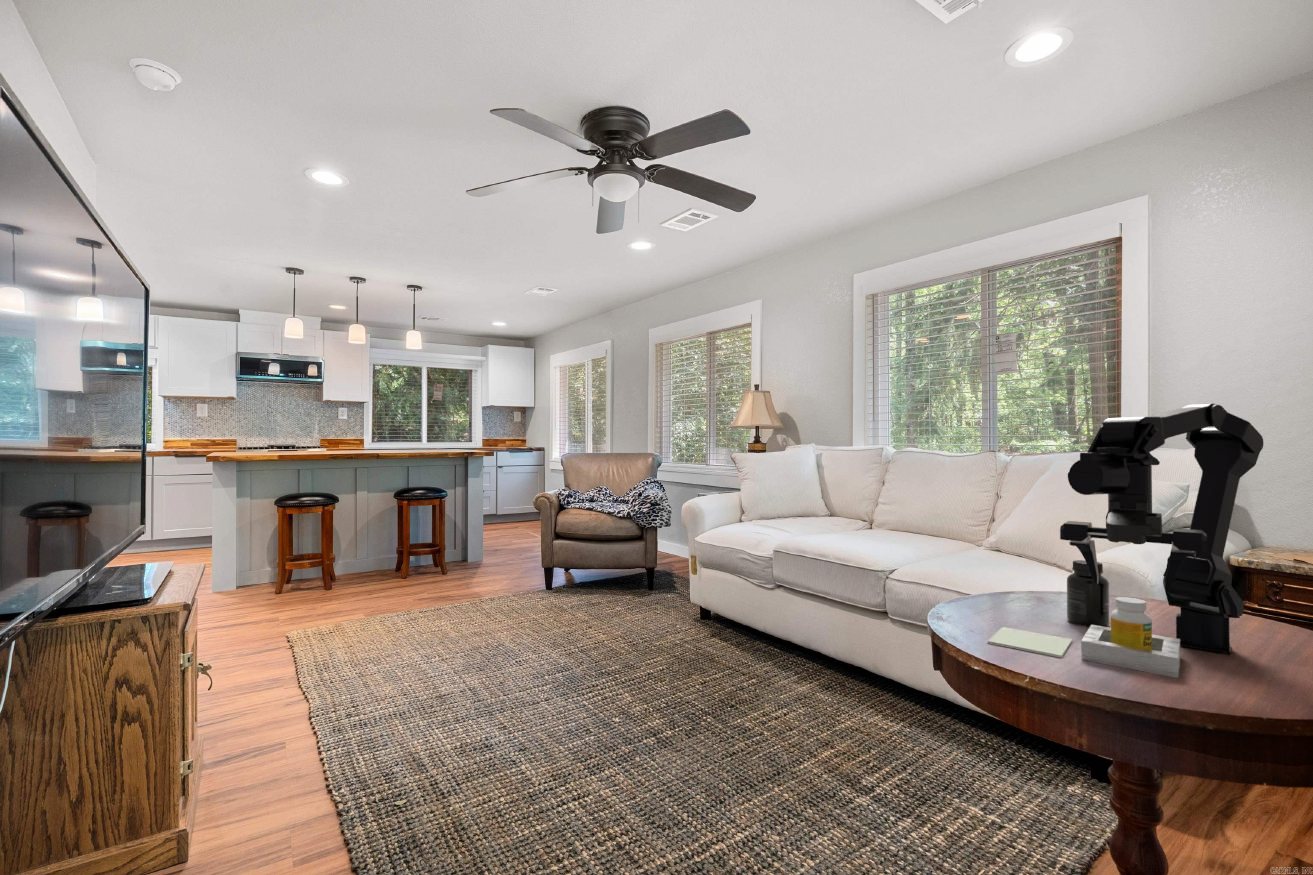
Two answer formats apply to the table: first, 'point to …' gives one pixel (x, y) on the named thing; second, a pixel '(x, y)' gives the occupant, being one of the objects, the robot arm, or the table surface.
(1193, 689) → the table surface
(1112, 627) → the supplement bottle
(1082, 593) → the supplement bottle
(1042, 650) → the sage pad
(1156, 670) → the grey square frame
